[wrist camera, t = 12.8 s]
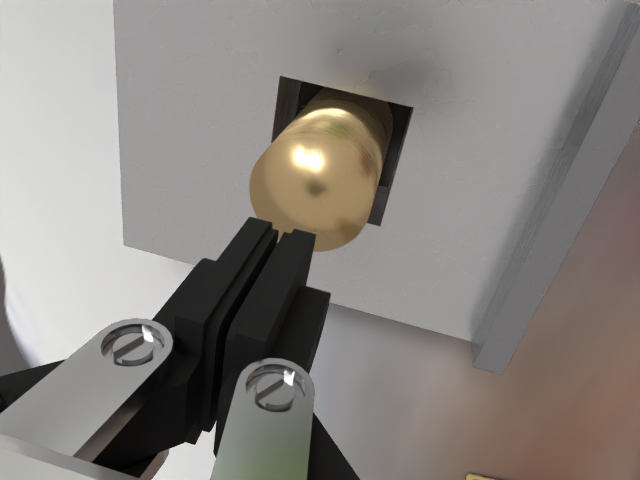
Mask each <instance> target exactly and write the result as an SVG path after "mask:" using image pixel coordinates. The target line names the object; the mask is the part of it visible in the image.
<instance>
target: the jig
mask: <svg viewBox="0 0 640 480" xmlns="http://www.w3.org/2000/svg"><path fill="white" fill-rule="evenodd" d="M113 7H114V30H115V53H116V77H117V100H118V123H119V146H120V169H121V193H122V216H123V239H124V245H125V246H128V247H132V248H136V249H139V250H143V251H146V252H150V253H154V254H157V255H161V256H164V257H168V258H172V259H175V260H179V261H182V262H186V263H190V264H193V265H197V264H198V262H199V261H200V260H201V259H203V258H208V259H211V260H215V261H216V260H217V259H218V258H219V256H220V255H221V254H222V252H223V251H224V250H225V248H226V247H227V246H228V244H229V243H230V242H231V240H232V239H233V238H234V237H235V235H236V234H237V233H238V231H239V230H240V229H241V227H242V226H243V225H244V223H245V222H246V221H247V219H248V218H249V217H254V218H257V216H256V214H255V212H254V210H253V207H252V204H251V200H250V194H249V182H250V176H251V173H252V170H253V167H254V165H255V164H256V162H257V160H258V159H259V157H260V156H261V155H262V154H263V153H264V152H265V151H266V149H267V148H268V147H269V146H270V145H271V144H272V143H273V142H274V141H275V139H276V138H277V137H278V136H279V135H280V134H281V133H282V132H283V131H284V130H285V128H286V127H287V126H288V125H289V124H290V123H291V122H292V121H293V120H294V118H295V117H296V113H297V107H298V100H299V94H300V87H301V81H304V82H308V83H313V84H317V85H321V86H325V87H329V88H334V89H338V90H342V91H346V92H350V93H355V94H359V95H363V96H367V97H371V98H376V99H380V100H384V101H388V102H392V103H397V104H401V105H405V106H409V107H411V110H410V114H409V117H408V121H407V125H406V128H405V132H404V135H403V139H402V142H401V146H400V150H399V153H398V157H397V160H396V164H395V167H394V171H393V175H392V178H391V182H390V185H389V188H388V187H384V186H380V185H378V186H377V190H376V194H375V197H374V201H373V205H372V208H371V212H370V215H369V218H368V221H367V223H366V225H365V227H364V228H363V230H362V231H361V232H360V234H359V235H358V236H357V237H356V238H355V239H353V240H352V241H351V242H349V243H348V244H346V245H344V246H342V247H340V248H337V249H334V250H330V251H324V252H313V255H312V259H311V264H310V269H309V274H308V279H307V284H306V286H308V287H312V288H315V289H319V290H322V291H326V292H330V293H331V297H330V303H334V304H337V305H341V306H345V307H348V308H352V309H355V310H359V311H363V312H366V313H370V314H373V315H377V316H381V317H384V318H388V319H391V320H395V321H399V322H402V323H406V324H410V325H413V326H417V327H420V328H424V329H428V330H431V331H435V332H438V333H442V334H446V335H449V336H453V337H456V338H460V339H464V340H467V341H471V345H472V357H473V367H475V368H479V369H482V370H486V371H490V372H493V373H497V374H500V375H502V373H503V372H504V370H505V368H506V366H507V364H508V362H509V360H510V359H511V357H512V355H513V353H514V351H515V349H516V347H517V346H518V344H519V342H520V340H521V338H522V336H523V334H524V332H525V331H526V329H527V327H528V325H529V323H530V321H531V319H532V318H533V316H534V314H535V312H536V310H537V308H538V306H539V305H540V303H541V301H542V299H543V297H544V295H545V293H546V292H547V290H548V288H549V286H550V284H551V282H552V280H553V279H554V277H555V275H556V273H557V271H558V269H559V267H560V266H561V264H562V262H563V260H564V258H565V256H566V254H567V253H568V251H569V249H570V247H571V245H572V243H573V241H574V240H575V238H576V236H577V234H578V232H579V230H580V228H581V227H582V225H583V223H584V221H585V219H586V217H587V215H588V213H589V212H590V210H591V208H592V206H593V204H594V202H595V200H596V199H597V197H598V195H599V193H600V191H601V189H602V187H603V186H604V184H605V182H606V180H607V178H608V176H609V174H610V173H611V171H612V169H613V167H614V165H615V163H616V161H617V160H618V158H619V156H620V154H621V152H622V150H623V148H624V147H625V145H626V143H627V141H628V139H629V137H630V135H631V134H632V132H633V130H634V128H635V126H636V124H637V122H638V121H639V119H640V3H635V2H631V1H627V0H113ZM278 242H279V240H278ZM278 242H277V243H278Z"/></svg>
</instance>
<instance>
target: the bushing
mask: <svg viewBox="0 0 640 480" xmlns="http://www.w3.org/2000/svg"><path fill="white" fill-rule="evenodd" d="M392 130H393V119H392V114H391V111H390V108H389V106H388V104H387V102H386V101H384V100H380V99H376V98H371V97H367V96H363V95H359V94H355V93H350V92H346V91H342V90H338V89H334V88H329V87H324V88H323V89H321V90H320V91H319V92H318V93H317V94H316V95H315V96H314V98H313V99H312V100H311V101H310V102H309V103H308V104H307V105H306V106H305V107H304V109H303V110H302V111H301V112H300V113H299V114H298V115H297V116H296V117H295V118H294V120H293V121H292V122H291V123H290V124H289V125H288V126H287V127H286V128H285V130H284V131H283V132H282V133H281V134H280V135H279V136H278V137H277V138H276V139H275V141H274V142H273V143H272V144H271V145H270V146H269V147H268V148H267V149H266V151H265V152H264V153H263V154H262V155H261V156H260V157H259V159H258V160H257V162H256V164H255V165H254V167H253V170H252V173H251V176H250V182H249V194H250V200H251V204H252V207H253V210H254V212H255V214H256V216H257V218H258V219H261V220H265V221H269V222H272V228H273V229H276V230H278V231H279V236H278V240H280V238H281V237H282V235H283V233H284V232H287V233H292V231H293V230H294V229H299V230H302V231H306V232H310V233H314V234H316V240H315V245H314V250H313V252H324V251H330V250H334V249H337V248H340V247H342V246H344V245H346V244H348V243H349V242H351V241H352V240H353V239H355V238H356V237H357V236H358V235H359V234H360V232H361V231H362V230H363V228H364V227H365V225H366V223H367V221H368V218H369V215H370V212H371V208H372V205H373V201H374V197H375V194H376V190H377V186H378V183H379V179H380V175H381V172H382V168H383V165H384V161H385V157H386V154H387V150H388V146H389V143H390V139H391V135H392Z"/></svg>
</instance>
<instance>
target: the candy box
mask: <svg viewBox="0 0 640 480" xmlns="http://www.w3.org/2000/svg"><path fill="white" fill-rule="evenodd" d="M466 480H497V479H492V478H488V477H484V476H481V475H478V474H472V473H468V475H467V477H466Z"/></svg>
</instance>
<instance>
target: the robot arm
mask: <svg viewBox="0 0 640 480" xmlns="http://www.w3.org/2000/svg"><path fill="white" fill-rule="evenodd" d="M278 236H279V231H278V230H276V229H273V228H272V222H269V221H265V220H261V219H258V218H254V217H249V218H248V219H247V221H246V222H245V223H244V225H243V226H242V227H241V229H240V230H239V231H238V233H237V234H236V235H235V237H234V238H233V239H232V240H231V242H230V243H229V244H228V246H227V247H226V248H225V250H224V251H223V252H222V254H221V255H220V256H219V258H218V259H217V260H216V261H215V260H211V259H208V258H203V259H201V260H200V261H199V262H198V264H197V265H196V266H195V267H194V269H193V270H192V271H191V272H190V274H189V275H188V276H187V277H186V279H185V280H184V281H183V282H182V284H181V285H180V286H179V287H178V288H177V290H176V291H175V292H174V293H173V295H172V296H171V297H170V298H169V300H168V301H167V302H166V303H165V305H164V306H163V307H162V308H161V310H160V311H159V312H158V313H157V315H156V316H155V317H154V318H153V319H152V320H148V319H137V318H134V319H127V320H122V321H119V322H116V323H113V324H111V325H109V326H108V327H106V328H104V329H103V330H101V331H100V332H99V333H98V334H97V335H95V336H94V337H93V338H92V339H91V340H89V341H88V342H87V343H86V344H84V345H83V346H82V347H81V348H80V349H78V350H77V351H76V352H75V353H73V354H72V355H71V356H70V357H69V358H67V359H65V360H61V361H58V362H54V363H50V364H46V365H42V366H38V367H35V368H31V369H27V370H23V371H19V372H15V373H12V374H8V375H4V376H1V377H0V480H151V479H152V478H153V477H154V475H155V474H156V473H157V471H158V470H159V469H160V467H161V466H162V465H163V463H164V462H165V460H166V458H167V456H168V454H169V449H170V448H172V447H175V446H177V445H180V444H182V443H184V442H187V443H190V444H194V445H195V444H196V442H197V440H198V438H199V436H200V434H201V432H202V430H203V431H206V432H210V431H211V430H212V428H213V426H214V424H215V422H216V420H217V422H216V432H215V442H214V451H213V453H214V455H215V457H216V461H215V465H214V468H213V472H212V475H211V479H210V480H360V479H359V477H358V476H357V475H356V473H355V472H354V470H353V469H352V467H351V466H350V464H349V463H348V462H347V460H346V459H345V457H344V456H343V454H342V453H341V451H340V450H339V448H338V447H337V446H336V444H335V443H334V441H333V440H332V438H331V437H330V435H329V434H328V433H327V431H326V430H325V428H324V427H323V425H322V424H321V422H320V421H319V419H318V418H317V417H316V415H315V414H314V412H313V407H314V396H315V391H314V384H313V382H312V380H311V378H310V376H309V372H310V369H311V366H312V363H313V360H314V357H315V354H316V350H317V347H318V344H319V340H320V337H321V333H322V330H323V326H324V322H325V318H326V314H327V310H328V306H329V302H330V297H331V293H330V292H326V291H322V290H319V289H315V288H312V287H308V286H306V284H307V279H308V274H309V269H310V264H311V259H312V255H313V250H314V245H315V240H316V234H314V233H310V232H306V231H302V230H299V229H294V230H293V231H292V233H287V232H284V233H283V235H282V237H281V238H280V240H279V242H278ZM277 242H278V243H277Z"/></svg>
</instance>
